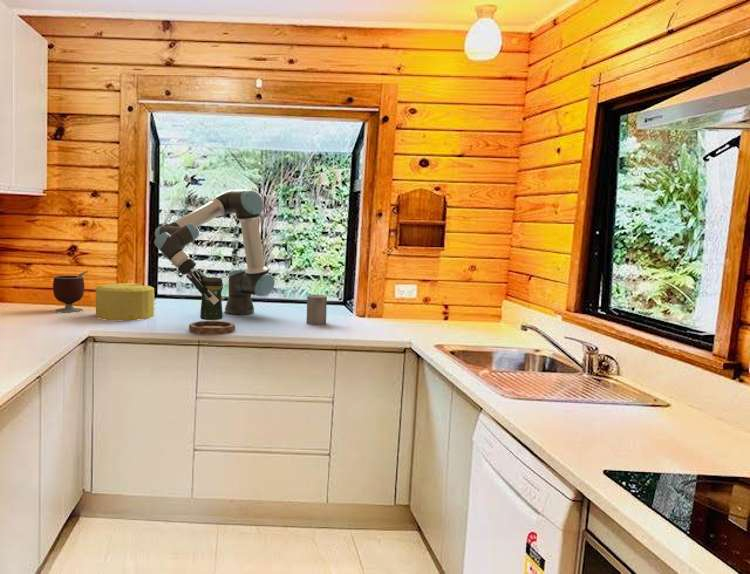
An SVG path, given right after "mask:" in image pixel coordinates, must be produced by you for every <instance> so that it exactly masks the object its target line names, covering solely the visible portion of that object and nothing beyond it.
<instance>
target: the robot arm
mask: <svg viewBox="0 0 750 574" xmlns="http://www.w3.org/2000/svg"><path fill="white" fill-rule="evenodd" d="M264 206H265V205H264V199H263V197H262V195H261V194H260V193H259V192H258V191H256V190H253V189H230V190H229V189H228V190H227V191H225V192H222V193H220V194H218V195H216V196H215V197H212V198H211V199H210V200H209V202H207V203H206V204H205V205H203V206H201V207H199V208H197V209H195V210H193V211H191V212H189V213H188V214H186V215H183V216H182V217H180V218H178V219H176V220H174V221H173V222H170V223H169V224H167V225H160V226H158V227H156V229H155V231H154V236H155V237H154V238H155V239H154V241H153V243H154V246H155V247H156V248H157V249H158V250H159V251H160V252H161V254H163V256H164V257H165V258H167V260H169V261H170V263H171V265H172V266H174V267H175V268H177V270H178V271H179V273H180V274H181V275H183V276H184V275H185V277H186V278H187V279H188V280H189V281H190V282H191V283H192V285H193V286H194V287H195V288H196V289H197V290H198V292H199V293H200V295H202V294H203V293H204V295H205V296H206V297H207V298H208V299H209V300H210V301H211V302H212V303H213V304H214V305H215V304H216V303H217V302H218V301H219V300H218V299H217V298H216V297H215V296H214V294H213V293H212V292H211V291H210V290H209V289H208V290H207V288H206V287H205V285H204V284H203V283H202V281H201V280H202V278H206V277H207V276H206V275H205V274H204V273H203V272H202V270H201V269H196V268H195V267H196V266H197V263H196V262H195V261H194V259H192V258H191V257H190V255H189V254H188V253H187V251H185V250H184V249H183V248H185V247H186V246H188V245H189V244H190V243H192V242H194V241H195V240H196V239H198V238H199V236H200V231H199V230H198V227H200V226H202V225H204V224H206V223H207V222H210V221H211V220H213V219H215V218H217V217H223V216H224V215H228V214H235V218H236V220H237V221H239V222H240V228H241V234H242V243H243V249H244V253H245V260H246V267H247V268H241V269H230V271H229V272H228V273H229V274H228V298H227V301H226V305H225V308H224V313H225V312H226V313H225V314H228V313H231V314H230V315H251V314H252V315H253V314H254V313H255V307H254V304H253V300H252V296H257V297H266V296H269V295H270V294H271V293H272V292H273V290H274V288H275V284H276V283H275V278H274V276H273V275H272V274H271V273H269V268H268V266H266V265H265V259H264V252H263V247H262V246H263V245H262V240H261V239H262V237H261V232H260V226H259V218H260V217H261V213H262V211H263V208H264ZM224 299H225V297H224V296H223V294H221V300H222V301H223V300H224Z"/></svg>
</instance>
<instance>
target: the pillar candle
mask: <svg viewBox="0 0 750 574" xmlns="http://www.w3.org/2000/svg"><path fill="white" fill-rule="evenodd" d="M327 299H328V297H327V295H325V294H319V293H316V294H308V295H307V296H306V324H307V325H311V326H312V325H313V326H319V325H320V326H321V325H326V324H327V304H328V303H327Z"/></svg>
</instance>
